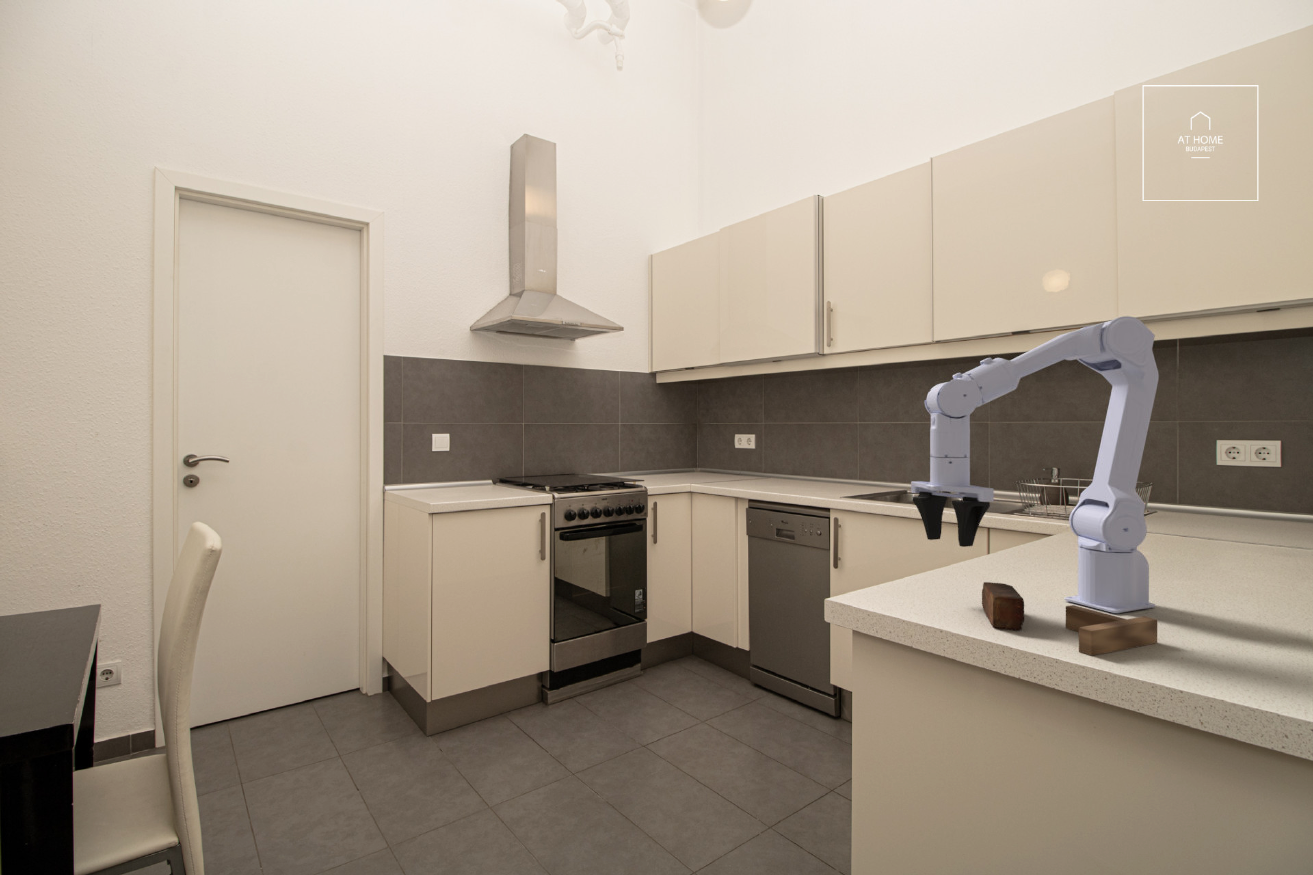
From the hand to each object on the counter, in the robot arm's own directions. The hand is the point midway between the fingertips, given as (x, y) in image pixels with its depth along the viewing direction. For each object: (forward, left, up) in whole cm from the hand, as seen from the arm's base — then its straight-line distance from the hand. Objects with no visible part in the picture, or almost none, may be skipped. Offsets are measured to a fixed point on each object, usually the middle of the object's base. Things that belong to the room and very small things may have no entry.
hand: (949, 542), depth 99 cm
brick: (0, +10, -10) cm, 14 cm away
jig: (-3, +20, -9) cm, 23 cm away
